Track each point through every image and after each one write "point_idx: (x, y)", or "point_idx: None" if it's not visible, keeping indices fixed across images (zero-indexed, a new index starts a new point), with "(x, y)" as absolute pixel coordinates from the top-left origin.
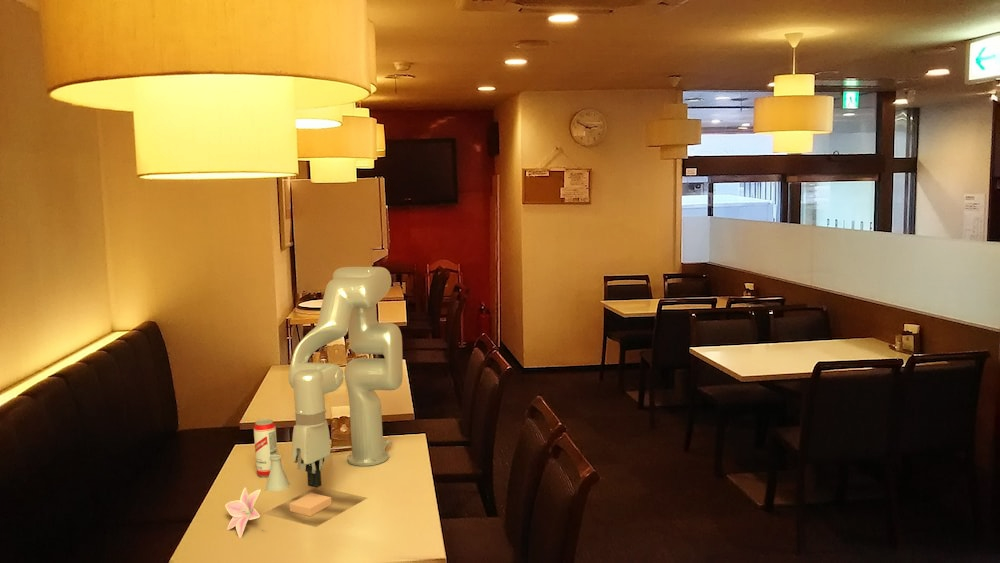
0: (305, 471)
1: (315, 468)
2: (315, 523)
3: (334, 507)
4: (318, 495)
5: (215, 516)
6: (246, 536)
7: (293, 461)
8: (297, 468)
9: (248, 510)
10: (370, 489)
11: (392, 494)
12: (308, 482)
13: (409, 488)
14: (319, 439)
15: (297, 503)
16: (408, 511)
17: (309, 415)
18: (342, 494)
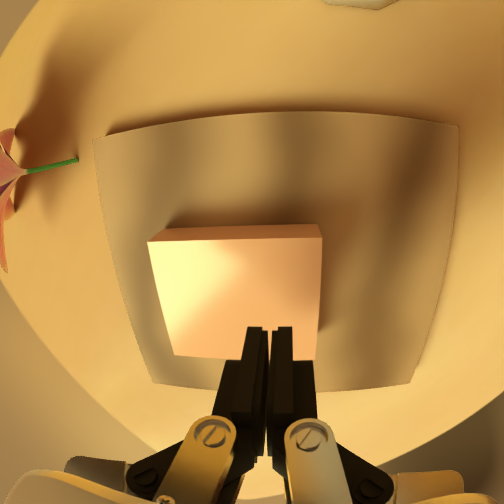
0: (197, 420)
1: (237, 489)
2: (164, 372)
3: None
4: (309, 299)
5: (54, 8)
6: (23, 219)
7: (28, 476)
8: (70, 463)
9: (9, 167)
10: (493, 311)
11: (462, 380)
12: (225, 364)
13: (493, 380)
14: None
15: (173, 276)
16: (369, 450)
17: None
18: (422, 300)
